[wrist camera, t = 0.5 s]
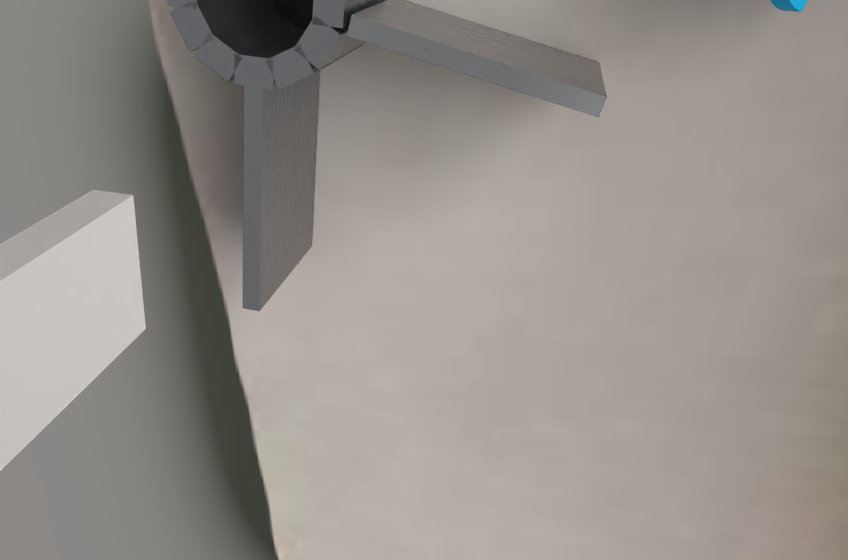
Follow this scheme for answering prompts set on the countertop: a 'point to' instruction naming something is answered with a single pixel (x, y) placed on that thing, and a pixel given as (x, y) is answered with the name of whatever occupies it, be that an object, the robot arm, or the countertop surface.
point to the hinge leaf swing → (482, 53)
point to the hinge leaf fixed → (272, 117)
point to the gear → (789, 4)
